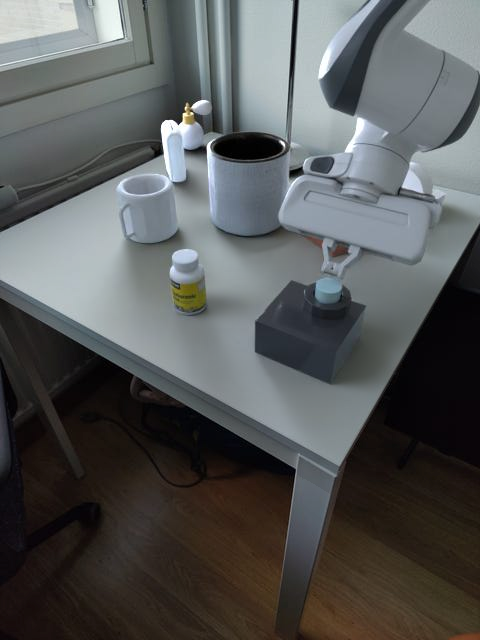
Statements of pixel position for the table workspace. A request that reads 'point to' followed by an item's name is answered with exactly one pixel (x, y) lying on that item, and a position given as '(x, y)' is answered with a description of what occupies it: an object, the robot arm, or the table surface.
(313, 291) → the grey push button box
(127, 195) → the mug
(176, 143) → the white rounded-top slab
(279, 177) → the planter
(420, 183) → the tape dispenser
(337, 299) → the light blue push button
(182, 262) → the supplement bottle
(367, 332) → the table surface
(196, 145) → the perfume bottle
